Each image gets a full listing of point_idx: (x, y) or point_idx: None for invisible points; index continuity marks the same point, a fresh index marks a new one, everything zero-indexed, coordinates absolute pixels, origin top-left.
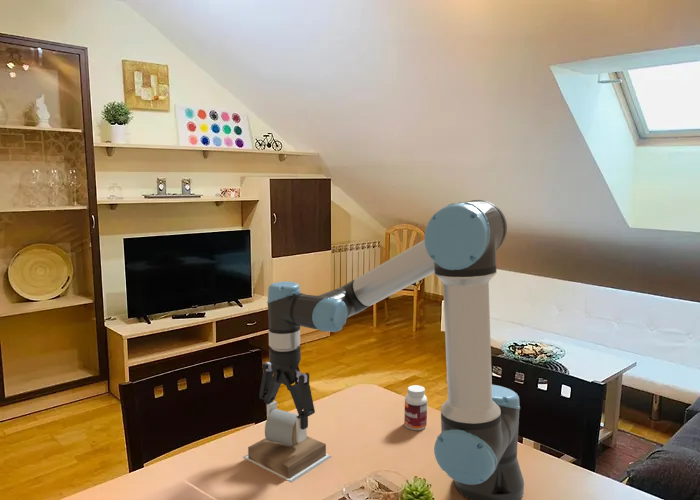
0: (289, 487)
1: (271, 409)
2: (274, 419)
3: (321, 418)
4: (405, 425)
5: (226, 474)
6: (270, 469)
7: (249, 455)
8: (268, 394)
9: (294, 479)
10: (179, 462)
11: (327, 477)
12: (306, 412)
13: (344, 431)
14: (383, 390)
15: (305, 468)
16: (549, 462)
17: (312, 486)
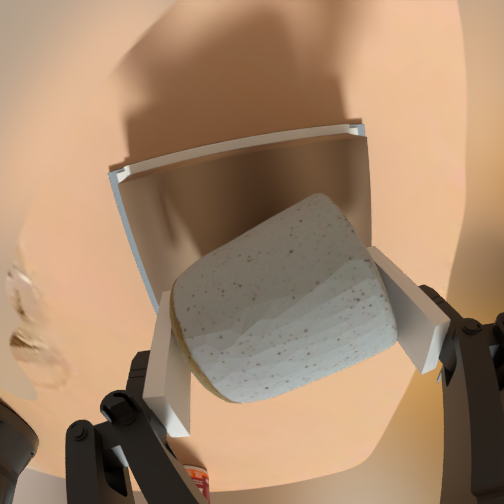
0: (95, 155)
1: (413, 321)
2: (318, 284)
3: (349, 394)
4: (192, 468)
5: (313, 28)
6: (223, 150)
7: (345, 134)
8: (482, 377)
9: (115, 189)
10: (446, 5)
11: (84, 277)
12: (71, 446)
13: (262, 408)
14: (323, 475)
15: None
16: (36, 469)
17: (64, 219)
